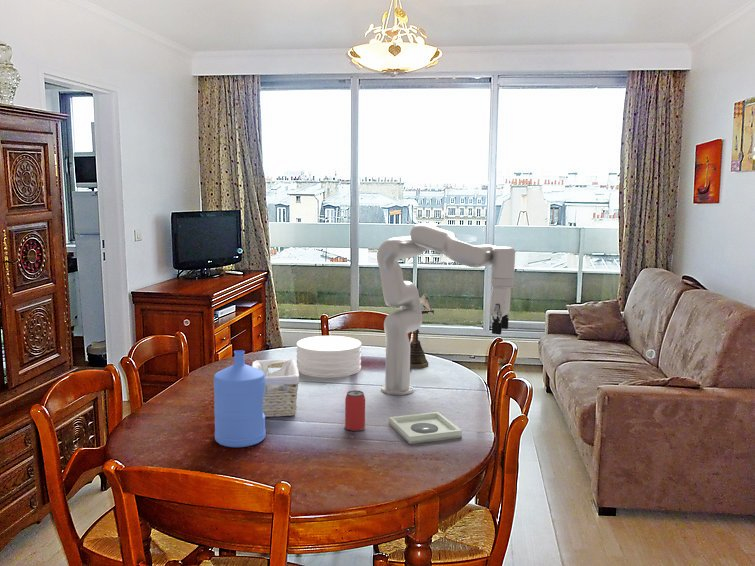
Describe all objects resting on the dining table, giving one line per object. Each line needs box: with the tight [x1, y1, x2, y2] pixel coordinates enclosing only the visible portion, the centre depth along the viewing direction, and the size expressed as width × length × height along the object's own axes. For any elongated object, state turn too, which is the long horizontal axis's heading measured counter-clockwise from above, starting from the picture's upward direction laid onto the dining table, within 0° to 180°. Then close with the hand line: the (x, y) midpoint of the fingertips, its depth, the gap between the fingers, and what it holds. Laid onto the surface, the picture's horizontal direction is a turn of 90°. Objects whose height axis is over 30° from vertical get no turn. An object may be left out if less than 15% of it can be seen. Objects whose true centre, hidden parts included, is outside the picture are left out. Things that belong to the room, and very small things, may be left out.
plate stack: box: [296, 335, 362, 379], centre depth 282 cm, size 28×28×12 cm
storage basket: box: [251, 358, 300, 418], centre depth 231 cm, size 24×16×15 cm
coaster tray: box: [388, 411, 463, 445], centre depth 212 cm, size 18×18×2 cm
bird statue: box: [410, 287, 435, 369], centre depth 286 cm, size 17×13×35 cm
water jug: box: [213, 349, 267, 448], centre depth 201 cm, size 16×16×28 cm
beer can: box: [344, 389, 366, 432], centre depth 212 cm, size 7×7×12 cm
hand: (500, 331), depth 225 cm, fingers open, 9 cm apart
